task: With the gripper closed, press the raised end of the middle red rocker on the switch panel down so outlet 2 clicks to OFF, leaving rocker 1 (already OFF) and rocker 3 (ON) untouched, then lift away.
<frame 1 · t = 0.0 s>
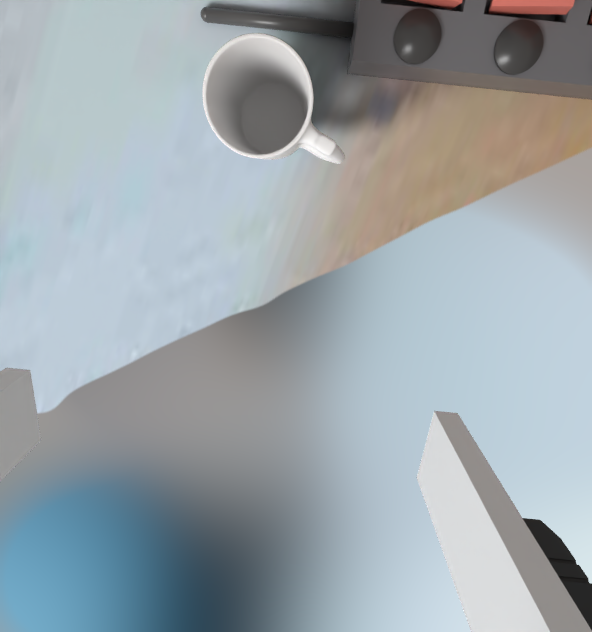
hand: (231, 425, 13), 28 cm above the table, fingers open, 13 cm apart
mug: (289, 132, 35), on the table
switch panel: (500, 26, 32), on the table
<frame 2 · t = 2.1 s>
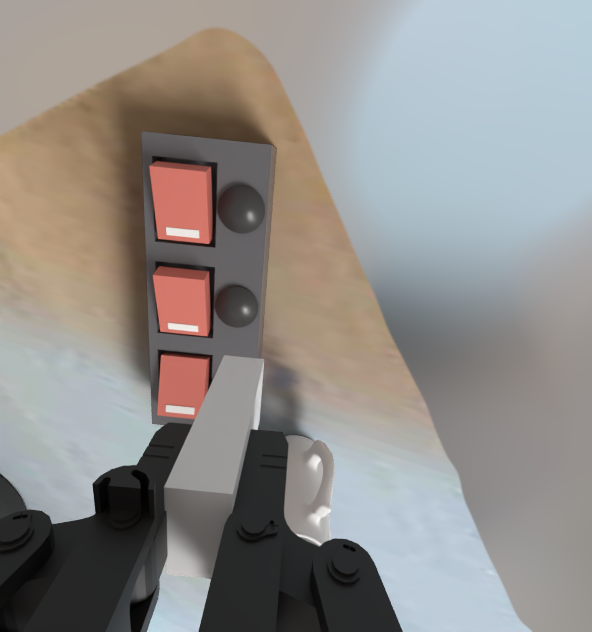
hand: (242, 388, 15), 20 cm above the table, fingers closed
mug: (302, 446, 41), on the table
rocker 1: (184, 385, 33), point 5 cm above the table, hinge at -14.0°
rocker 3: (183, 203, 28), point 5 cm above the table, hinge at 14.0°
switch panel: (215, 287, 35), on the table
rocker 2: (183, 302, 31), point 5 cm above the table, hinge at 14.0°
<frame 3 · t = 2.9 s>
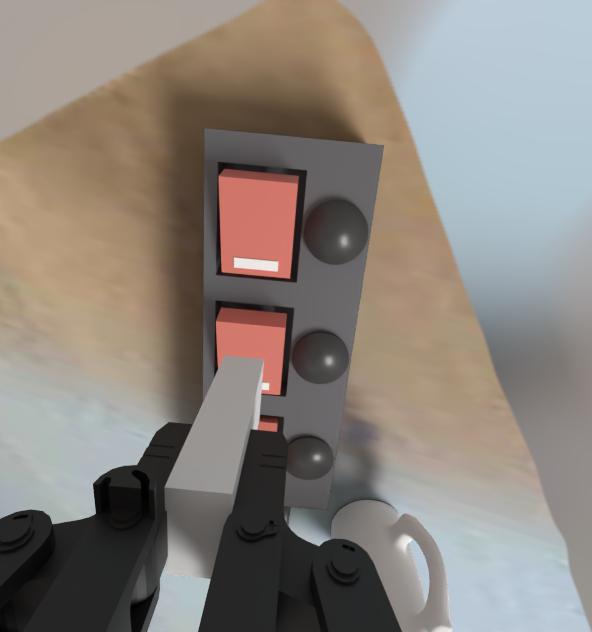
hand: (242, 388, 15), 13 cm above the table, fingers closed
mug: (376, 512, 34), on the table
rocker 1: (246, 454, 26), point 5 cm above the table, hinge at -14.0°
rocker 3: (258, 226, 21), point 5 cm above the table, hinge at 14.0°
switch panel: (281, 326, 28), on the table
rocker 2: (251, 353, 23), point 5 cm above the table, hinge at 14.0°
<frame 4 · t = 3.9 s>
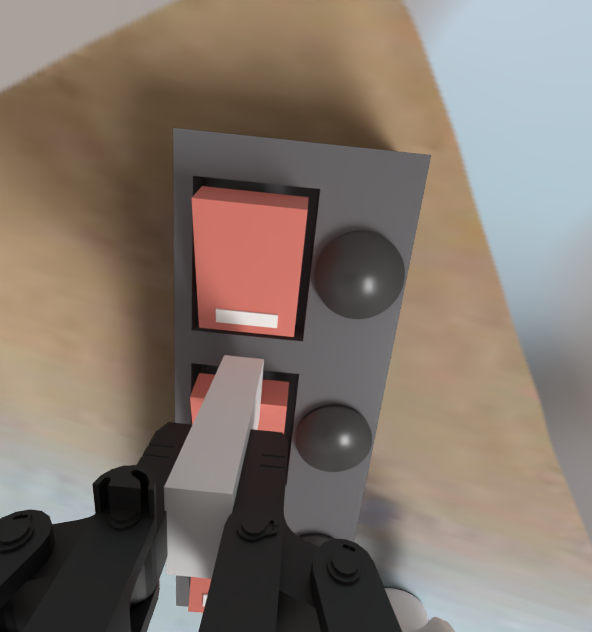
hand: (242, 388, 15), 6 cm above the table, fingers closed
mug: (395, 601, 27), on the table
rocker 1: (233, 556, 20), point 5 cm above the table, hinge at -14.0°
rocker 3: (250, 266, 15), point 5 cm above the table, hinge at 14.0°
switch panel: (280, 383, 22), on the table
rocker 2: (240, 432, 17), point 5 cm above the table, hinge at 13.5°, touching gripper
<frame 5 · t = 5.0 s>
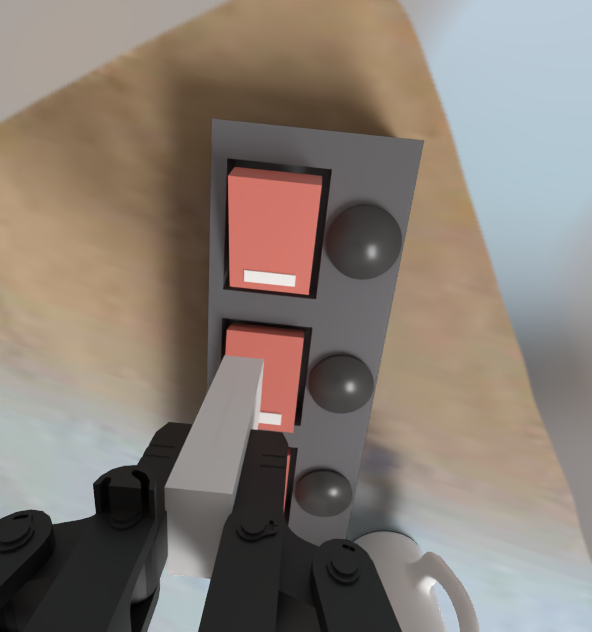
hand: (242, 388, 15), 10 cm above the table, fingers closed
mug: (394, 544, 31), on the table
rocker 1: (254, 488, 23), point 5 cm above the table, hinge at -14.0°
rocker 3: (273, 234, 18), point 5 cm above the table, hinge at 14.0°
switch panel: (295, 343, 25), on the table
rocker 2: (262, 377, 20), point 5 cm above the table, hinge at -7.3°
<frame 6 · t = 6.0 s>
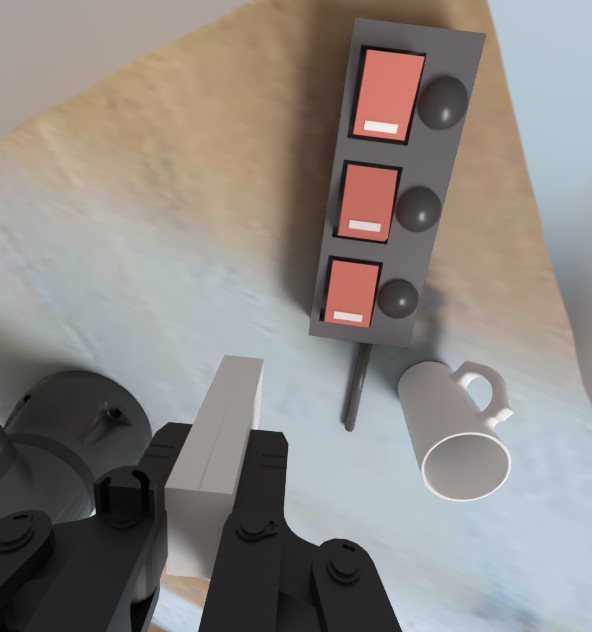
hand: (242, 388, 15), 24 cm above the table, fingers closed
mug: (436, 374, 41), on the table
rocker 1: (350, 293, 33), point 5 cm above the table, hinge at -14.0°
rocker 3: (386, 96, 28), point 5 cm above the table, hinge at 14.0°
switch panel: (377, 201, 35), on the table
rocker 2: (366, 203, 31), point 5 cm above the table, hinge at -19.7°
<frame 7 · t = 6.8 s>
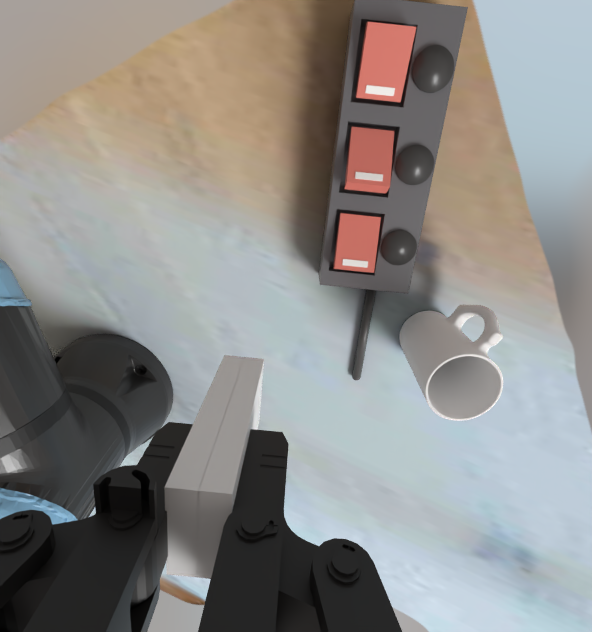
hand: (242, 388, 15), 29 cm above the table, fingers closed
mug: (433, 323, 45), on the table
rocker 1: (356, 243, 38), point 5 cm above the table, hinge at -14.0°
rocker 3: (383, 63, 32), point 5 cm above the table, hinge at 14.0°
switch panel: (377, 163, 39), on the table
rocker 2: (369, 160, 35), point 5 cm above the table, hinge at -27.2°
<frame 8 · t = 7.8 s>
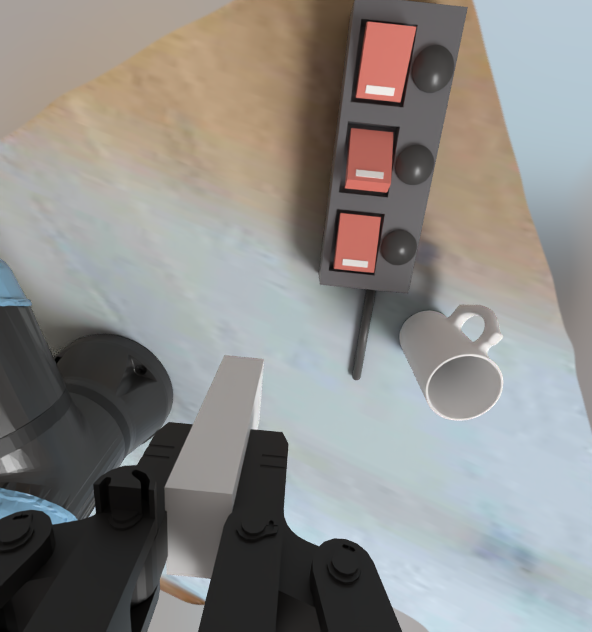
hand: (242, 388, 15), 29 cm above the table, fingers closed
mug: (433, 323, 45), on the table
rocker 1: (356, 243, 38), point 5 cm above the table, hinge at -14.0°
rocker 3: (383, 63, 32), point 5 cm above the table, hinge at 14.0°
switch panel: (377, 163, 39), on the table
rocker 2: (369, 160, 35), point 5 cm above the table, hinge at -34.2°
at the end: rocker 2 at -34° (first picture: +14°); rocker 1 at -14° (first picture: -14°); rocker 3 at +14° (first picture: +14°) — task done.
